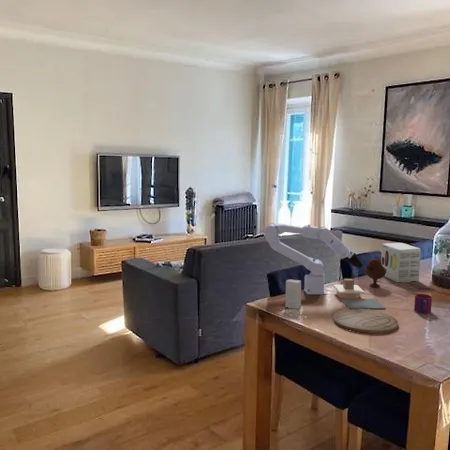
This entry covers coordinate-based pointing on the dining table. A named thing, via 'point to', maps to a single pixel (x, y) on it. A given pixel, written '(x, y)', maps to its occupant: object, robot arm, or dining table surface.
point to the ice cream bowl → (375, 271)
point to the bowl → (348, 295)
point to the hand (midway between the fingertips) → (359, 266)
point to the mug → (423, 303)
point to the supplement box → (401, 261)
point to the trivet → (365, 321)
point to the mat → (362, 304)
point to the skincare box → (293, 293)
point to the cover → (348, 287)
